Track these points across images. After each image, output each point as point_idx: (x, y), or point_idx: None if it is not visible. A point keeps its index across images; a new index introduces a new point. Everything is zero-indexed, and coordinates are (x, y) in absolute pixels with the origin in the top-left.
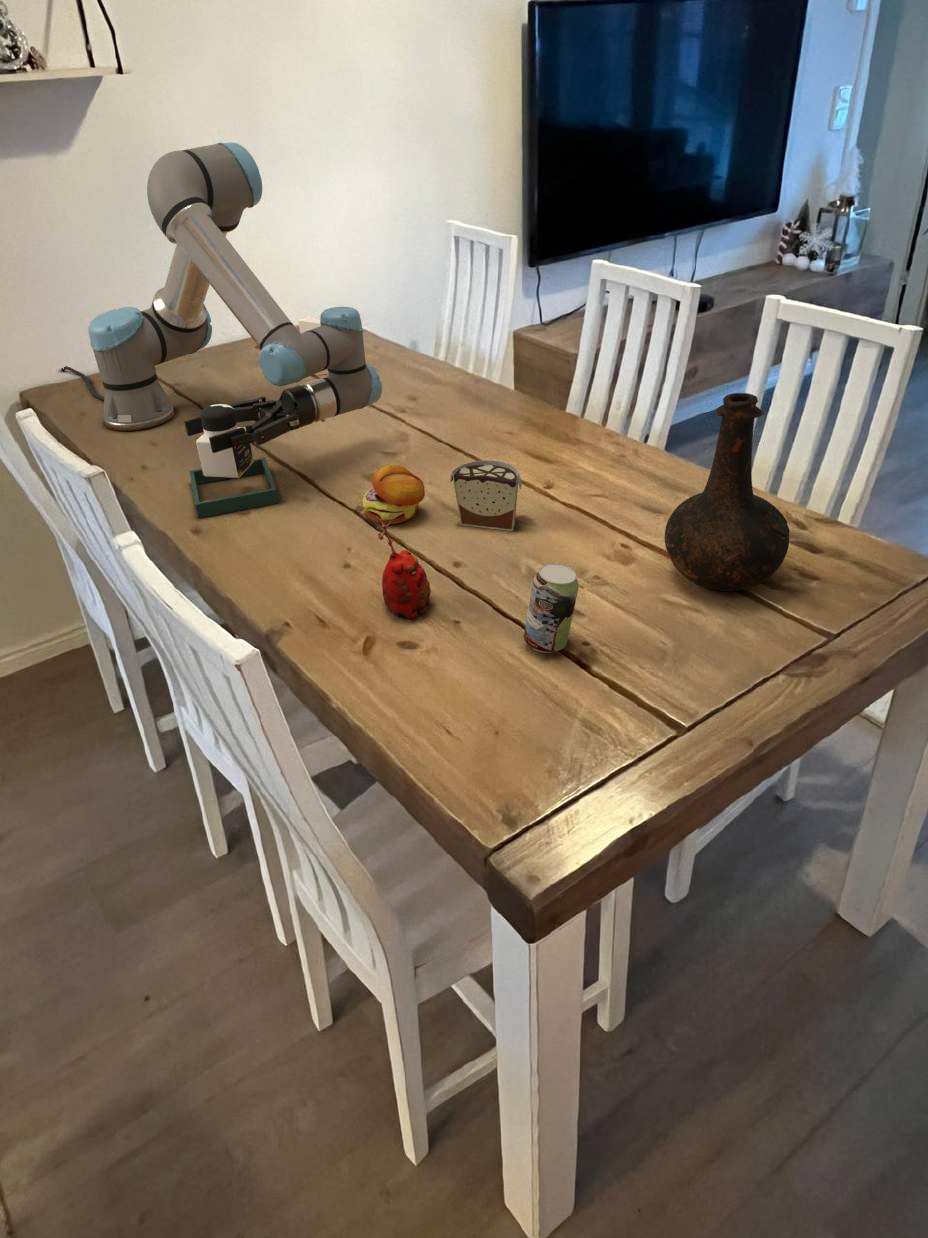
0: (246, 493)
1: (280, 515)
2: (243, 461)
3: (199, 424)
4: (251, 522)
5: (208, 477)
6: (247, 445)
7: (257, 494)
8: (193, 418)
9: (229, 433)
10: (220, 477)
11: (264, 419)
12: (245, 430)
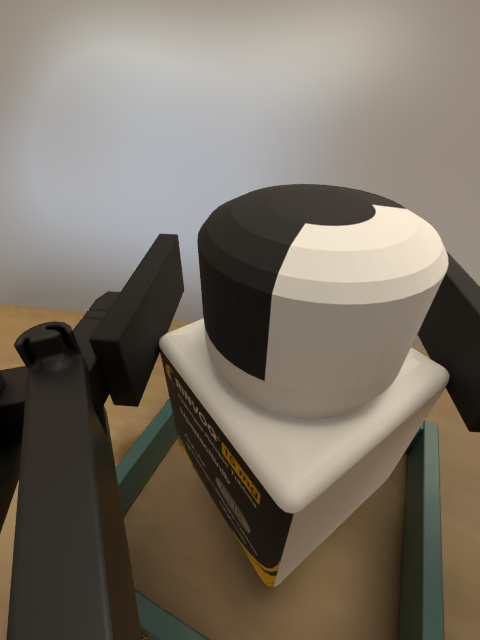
0: (136, 454)
1: (6, 517)
2: (203, 468)
3: (434, 304)
4: None
5: (411, 481)
6: (245, 510)
7: None
8: (462, 269)
9: (129, 281)
10: (407, 524)
11: (46, 588)
12: (259, 478)
